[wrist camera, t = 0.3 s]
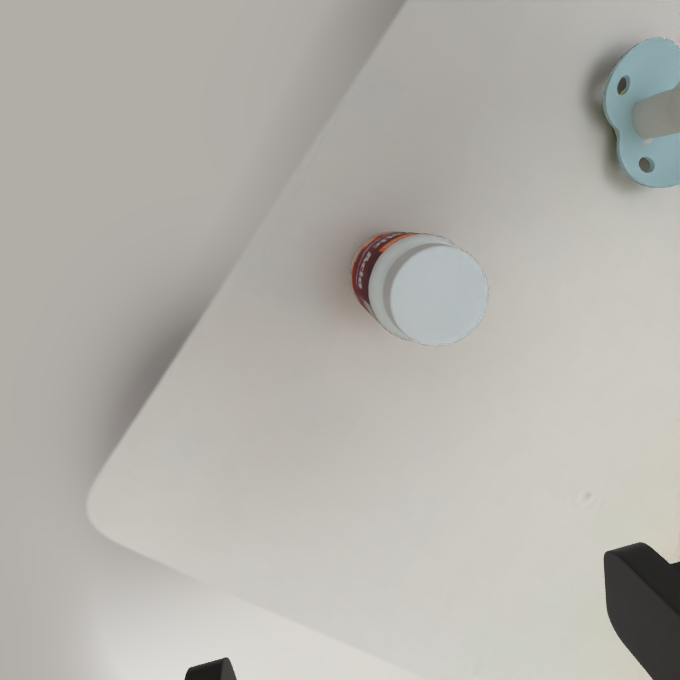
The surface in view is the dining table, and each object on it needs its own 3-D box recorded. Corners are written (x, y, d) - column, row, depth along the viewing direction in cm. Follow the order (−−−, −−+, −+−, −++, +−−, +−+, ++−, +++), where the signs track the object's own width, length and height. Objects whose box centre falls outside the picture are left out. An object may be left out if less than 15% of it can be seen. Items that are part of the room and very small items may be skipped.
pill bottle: (386, 212, 25) (437, 207, 17) (447, 268, 27) (522, 288, 19) (330, 280, 26) (355, 306, 18) (393, 332, 27) (443, 378, 19)
